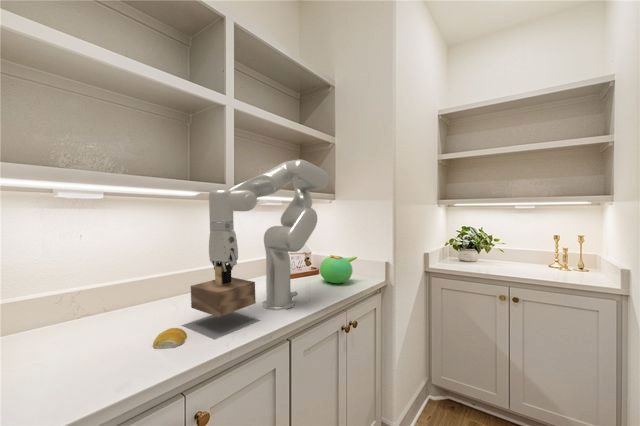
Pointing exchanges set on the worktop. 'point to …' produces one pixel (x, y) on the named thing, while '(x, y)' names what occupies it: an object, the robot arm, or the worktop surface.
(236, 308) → the square lid with knob
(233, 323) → the rubber mat
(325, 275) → the green rounded piece
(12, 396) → the worktop surface
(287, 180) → the robot arm
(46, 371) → the worktop surface
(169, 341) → the bread roll
